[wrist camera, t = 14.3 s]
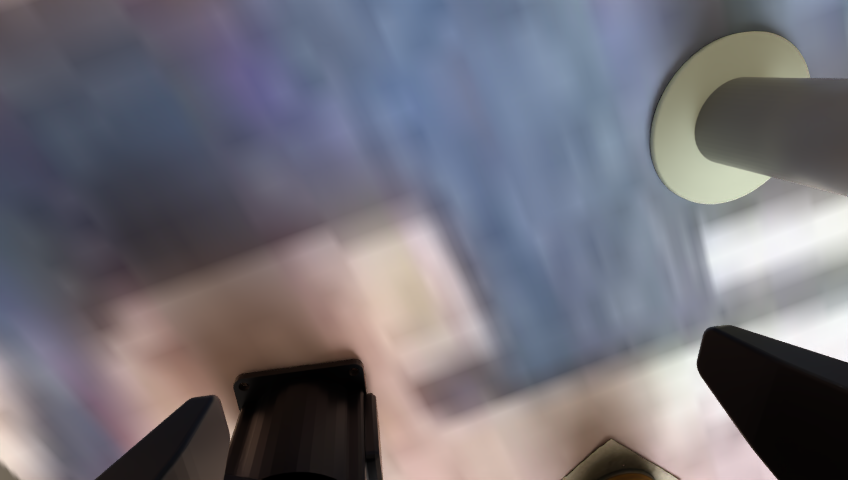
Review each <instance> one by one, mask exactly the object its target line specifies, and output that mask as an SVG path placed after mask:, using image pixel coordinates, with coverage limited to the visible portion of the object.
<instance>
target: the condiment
mask: <svg viewBox="0 0 848 480" xmlns="http://www.w3.org/2000/svg"><path fill="white" fill-rule="evenodd" d="M623 464H624V466H623ZM562 480H678V479H677V478H675V477H674V476H672V475H671V474H669V473H667V472H665V471H664V470H663V469H661V468H660V467H658V466H656V465H655V464H653V463H651V462H649V461H648V460H645V459H643V458H642V457H640V456H639V455H638V454H636V453H634V452H633V451H631V450H630V449H628V448H626V447H624V446H622V445H620V444H619V443H617V442H616V441H614V440H612V439H610V440H609V441H608V442H606V443H605V444H604V445H603V446H602V447H599V448H598V449H597V450H596V451H595V452H594V453H592V454H591V455H590V456H589V457H588V458H587V459H586V460H585V461H583V462H582V463H580V464H579V465H578V466H577V467H576V468H575V469H574V470H573V471H572V472H571V473H570V474H569V475H568V476H566V477H564V478H563V479H562Z"/></svg>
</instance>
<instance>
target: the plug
mask: <svg viewBox="0 0 848 480" xmlns="http://www.w3.org/2000/svg"><path fill="white" fill-rule="evenodd" d="M695 141H696V145H697V147H698V150H699V151H700V153H701V154H702V155H703V156H704V157H705V158H706V159H708V160H709V161H712V162H715V163H718V164H722V165H726V166H730V167H734V168H738V169H742V170H746V171H750V172H754V173H757V174H761V175H765V176H769V177H773V178H777V179H781V180H785V181H789V182H793V183H797V184H801V185H804V186H808V187H812V188H816V189H820V190H824V191H828V192H832V193H836V194H840V195H844V196H847V197H848V79H835V78H779V77H739V78H735V79H732V80H730V81H727V82H726V83H724V84H722V85H721V86H720V87H718V88H717V89H716V90H715V91H714V92H713V93H712V94H711V95H710V96H709V97H708V99H707V100H706V101H705V103H704V104H703V106H702V108H701V110H700V112H699V115H698V117H697V121H696V126H695Z"/></svg>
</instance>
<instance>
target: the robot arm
mask: <svg viewBox="0 0 848 480" xmlns="http://www.w3.org/2000/svg"><path fill="white" fill-rule="evenodd" d="M352 368H357V369H358V370H356V371H351V370H350V369H352ZM697 368H698V371H699V374H700V376H701V377H702V379H703V380H704V381H705V383H706V384H707V386H708V387H709V388H710V390H711V391H712V393H713V394H714V396H715V397H716V398H717V400H718V401H719V403H720V404H721V406H722V407H723V408H724V410H725V411H726V413H727V414H728V416H729V417H730V418H731V420H732V421H733V423H734V424H735V425H736V427H737V428H738V430H739V431H740V433H741V434H742V435H743V437H744V438H745V440H746V441H747V442H748V444H749V445H750V446H751V448H752V449H753V450H754V451H755V453H756V454H757V455H758V456H759V458H760V459H761V460H762V461H763V463H764V464H765V465H766V466H767V467H768V469H769V470H770V471H771V472H772V473H773V475H774V476H775V477H776V478H777V479H778V480H848V363H847V362H844V361H841V360H838V359H835V358H832V357H829V356H826V355H822V354H819V353H816V352H813V351H810V350H807V349H804V348H801V347H797V346H794V345H791V344H788V343H785V342H782V341H779V340H776V339H773V338H769V337H766V336H763V335H760V334H757V333H754V332H751V331H748V330H744V329H741V328H738V327H735V326H732V325H722V326H714V327H710V328H708V329H706V331H705V332H704V334H703V338H702V342H701V346H700V350H699V354H698V359H697ZM241 383H247V384H248V385H247V386H245V385H242V384H241ZM234 392H235V395H236V399H237V403H238V406H239V410H240V414H239V417H238V420H237V423H236V426H235V429H234V432H233V435H232V438H231V441H230V434H229V429H228V425H227V422H226V418H225V415H224V411H223V408H222V405H221V401H220V399H219V398H218V397H217V396H215V395H208V396H201V397H194V398H191V399H189V400H188V401H186V402H185V403H184V404H183V405H182V406H180V407H179V408H178V409H177V410H176V411H175V412H173V413H172V414H171V415H170V416H169V417H168V418H166V419H165V420H164V421H163V422H162V423H161V424H159V425H158V426H157V427H156V428H155V429H154V430H152V431H151V432H150V433H149V434H148V435H146V436H145V437H144V438H143V439H142V440H141V441H139V442H138V443H137V444H136V445H135V446H134V447H132V448H131V449H130V450H129V451H128V452H127V453H125V454H124V455H123V456H122V457H121V458H120V459H118V460H117V461H116V462H115V463H114V464H113V465H111V466H110V467H109V468H108V469H107V470H105V471H104V472H103V473H102V474H101V475H100V476H98V477H97V478H96V479H95V480H383V472H382V458H381V444H380V430H379V421H378V412H377V403H376V396H375V395H373V394H372V393H368V394H367V390H366V382H365V374H364V366H363V363H362V362H361V361H360V360H357V359H351V360H344V361H336V362H328V363H321V364H313V365H306V366H298V367H291V368H283V369H276V370H268V371H260V372H253V373H245V374H241V375H239V376H238V377H237V378H236V380H235V383H234Z"/></svg>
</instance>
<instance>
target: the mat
mask: <svg viewBox="0 0 848 480" xmlns="http://www.w3.org/2000/svg"><path fill="white" fill-rule="evenodd" d="M739 77H779V78H810V75H809V71H808V68H807V65H806V63H805V60H804V58H803V56H802V55H801V54H800V52H799V51H798V49H797V48H796V47H795V46H794V45H793V44H792V43H791V42H789V41H788V40H786V39H785V38H783V37H781V36H778V35H776V34H773V33H769V32H761V31H751V32H742V33H735V34H732V35H728V36H725V37H722V38H720V39H718V40H715V41H713V42H712V43H710V44H708V45H706V46H705V47H703V48H702V49H701V50H699V51H698V52H697V53H695V54H694V55H693V56H692V57H691V58H690V59H688V60H687V61H686V62H685V63H684V64H683V65H682V67H681V68H680V69H679V70H678V71H677V72H676V74H675V75H674V76H673V78H672V79H671V81H670V82H669V84H668V85H667V87H666V89H665V91H664V92H663V94H662V96H661V99H660V101H659V103H658V105H657V108H656V111H655V114H654V118H653V122H652V127H651V137H650V148H651V156H652V161H653V164H654V167H655V170H656V172H657V174H658V176H659V178H660V179H661V181H662V182H663V183H664V185H665V186H666V187H667V188H668V189H669V190H670V191H672V192H673V193H675V194H676V195H678V196H680V197H682V198H684V199H687V200H689V201H692V202H696V203H701V204H719V203H725V202H728V201H732V200H735V199H738V198H740V197H742V196H745V195H746V194H748V193H750V192H752V191H754V190H755V189H756V188H758V187H759V186H761V185H762V184H763V183H765V182H766V181H767V180H768V179H769V178H771V177H769V176H765V175H761V174H757V173H754V172H750V171H746V170H742V169H738V168H734V167H730V166H726V165H722V164H718V163H715V162H712V161H709V160H708V159H706V158H705V157H704V156H703V155H702V154H701V153H700V151H699V150H698V147H697V145H696V141H695V126H696V121H697V117H698V115H699V112H700V110H701V108H702V106H703V104H704V103H705V101H706V100H707V99H708V97H709V96H710V95H711V94H712V93H713V92H714V91H715V90H716V89H717V88H718V87H720V86H721V85H722V84H724V83H726V82H727V81H730V80H732V79H735V78H739Z"/></svg>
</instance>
